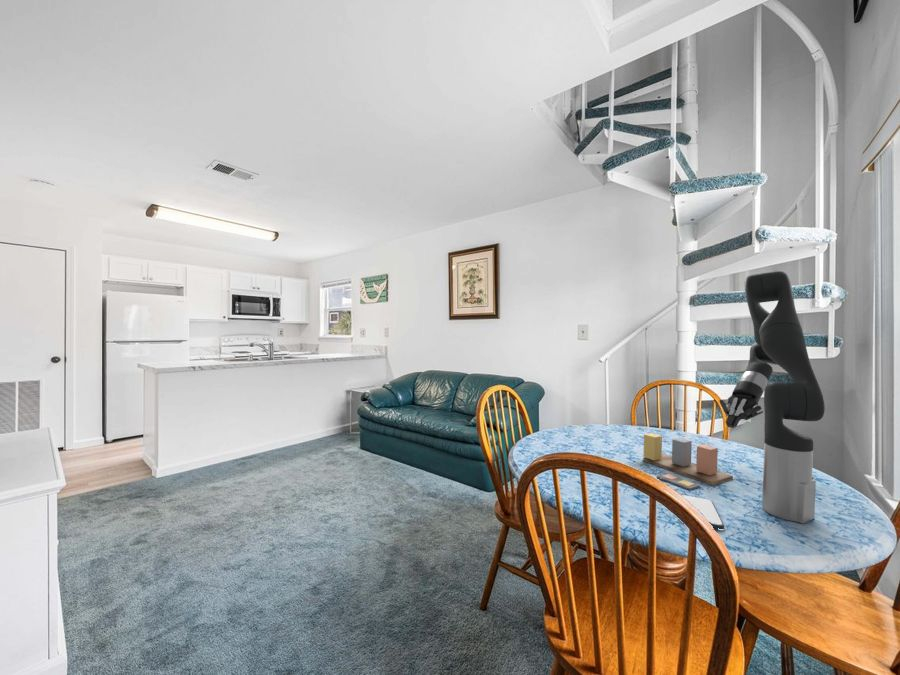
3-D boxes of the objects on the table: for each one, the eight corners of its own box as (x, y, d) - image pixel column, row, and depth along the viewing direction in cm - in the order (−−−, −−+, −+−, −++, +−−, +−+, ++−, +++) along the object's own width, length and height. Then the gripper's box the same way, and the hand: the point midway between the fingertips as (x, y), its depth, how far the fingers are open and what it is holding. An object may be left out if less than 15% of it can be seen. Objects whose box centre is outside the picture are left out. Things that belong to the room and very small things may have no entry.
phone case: (674, 498, 106) (681, 524, 91) (674, 492, 106) (681, 518, 91) (712, 505, 102) (725, 533, 88) (712, 499, 102) (726, 526, 87)
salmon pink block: (716, 473, 119) (717, 447, 119) (709, 475, 117) (710, 449, 117) (703, 468, 123) (704, 444, 122) (696, 470, 121) (696, 446, 121)
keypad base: (732, 479, 118) (732, 475, 118) (712, 485, 113) (712, 482, 113) (662, 456, 138) (662, 453, 138) (643, 460, 134) (643, 457, 134)
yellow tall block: (661, 458, 132) (662, 435, 132) (654, 460, 130) (654, 437, 130) (650, 455, 135) (651, 433, 135) (643, 456, 134) (643, 434, 133)
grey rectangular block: (691, 464, 126) (691, 440, 126) (683, 466, 124) (684, 442, 124) (679, 460, 130) (679, 437, 130) (671, 462, 128) (672, 439, 128)
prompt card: (699, 487, 112) (699, 484, 112) (689, 490, 110) (689, 487, 109) (667, 475, 121) (667, 472, 121) (657, 477, 118) (657, 475, 118)
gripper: (725, 377, 136) (704, 415, 131) (769, 382, 124) (748, 423, 119) (732, 391, 139) (712, 428, 133) (777, 397, 127) (757, 438, 122)
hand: (729, 426), depth 126 cm, fingers closed
